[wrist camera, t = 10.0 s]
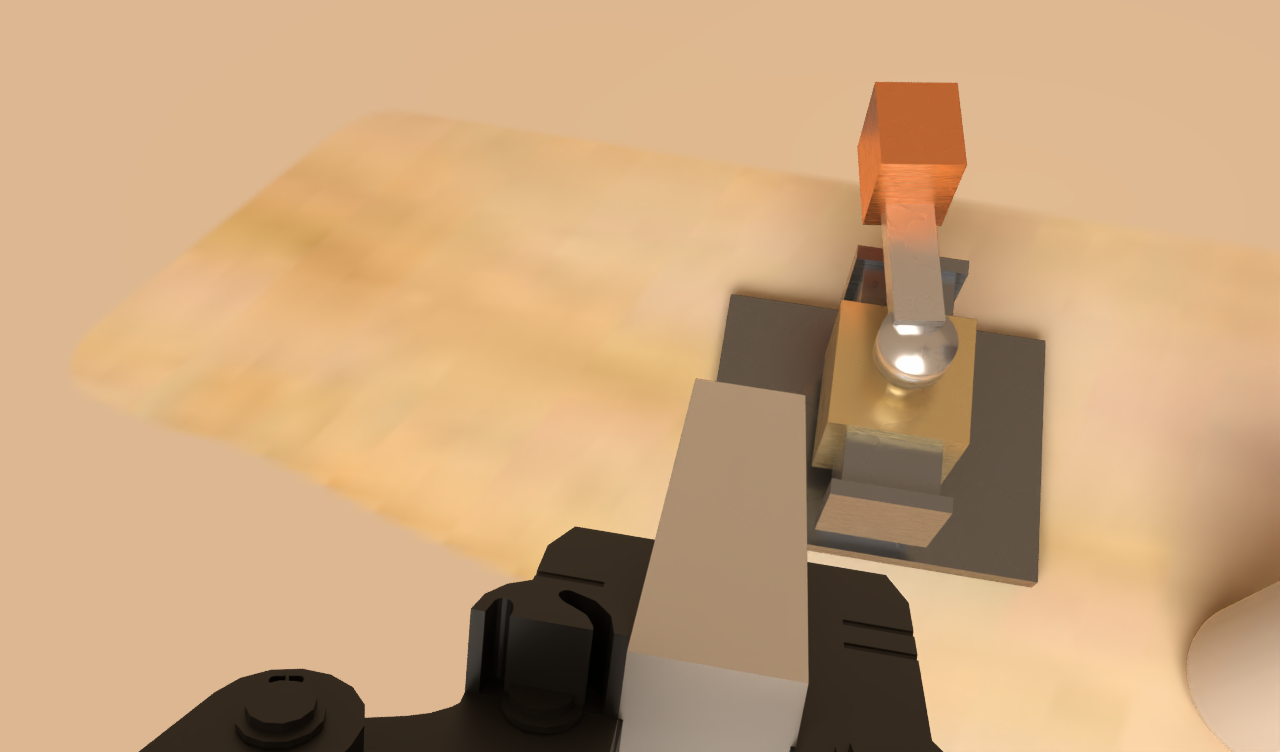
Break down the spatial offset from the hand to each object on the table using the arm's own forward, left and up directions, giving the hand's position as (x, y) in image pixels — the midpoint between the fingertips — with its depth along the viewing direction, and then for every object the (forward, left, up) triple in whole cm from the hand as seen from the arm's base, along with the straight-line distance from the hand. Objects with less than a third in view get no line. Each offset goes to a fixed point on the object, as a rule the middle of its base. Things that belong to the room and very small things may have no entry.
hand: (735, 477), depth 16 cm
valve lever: (-5, -18, -23) cm, 29 cm away
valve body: (-6, -14, -31) cm, 35 cm away
